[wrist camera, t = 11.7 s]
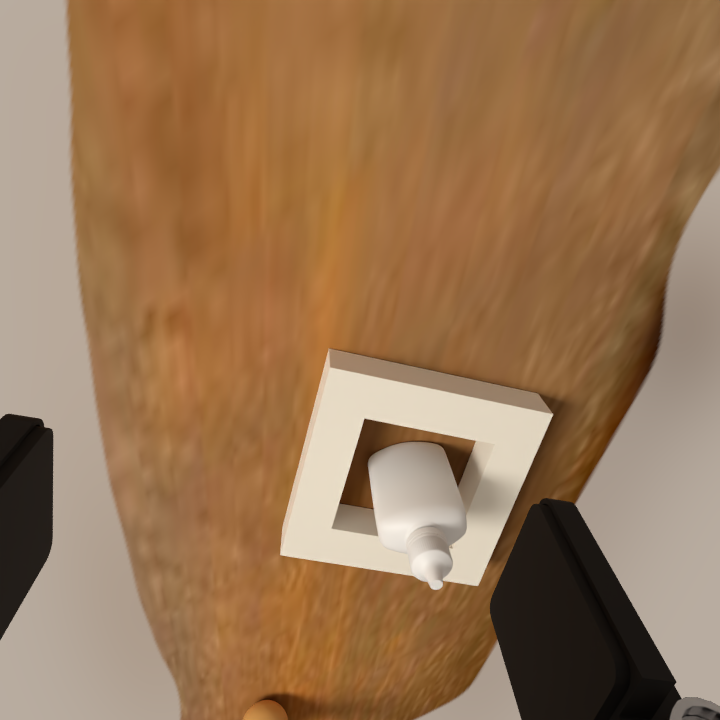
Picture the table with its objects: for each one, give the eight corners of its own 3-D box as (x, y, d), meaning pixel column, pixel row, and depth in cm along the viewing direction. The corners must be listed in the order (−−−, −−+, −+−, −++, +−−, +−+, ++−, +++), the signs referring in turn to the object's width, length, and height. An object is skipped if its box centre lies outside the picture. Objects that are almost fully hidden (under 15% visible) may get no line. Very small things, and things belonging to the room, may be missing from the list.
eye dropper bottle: (429, 494, 44) (466, 624, 34) (359, 474, 43) (373, 602, 32) (453, 447, 43) (500, 567, 32) (381, 425, 42) (404, 542, 31)
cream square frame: (329, 348, 39) (329, 367, 36) (537, 393, 42) (553, 414, 39) (282, 527, 45) (280, 555, 42) (468, 557, 47) (477, 585, 44)
